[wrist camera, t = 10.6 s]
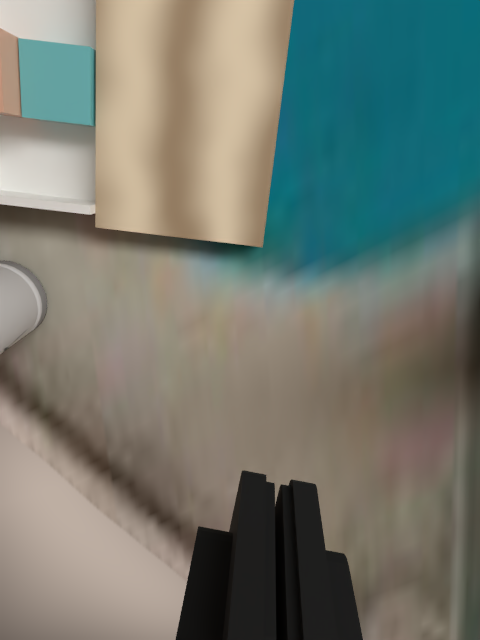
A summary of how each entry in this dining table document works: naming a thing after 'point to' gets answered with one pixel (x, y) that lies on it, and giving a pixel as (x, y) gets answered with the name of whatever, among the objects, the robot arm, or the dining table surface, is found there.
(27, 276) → the travel mug
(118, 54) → the board
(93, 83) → the tile teal
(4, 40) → the tile terracotta
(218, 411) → the dining table surface
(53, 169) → the tray
